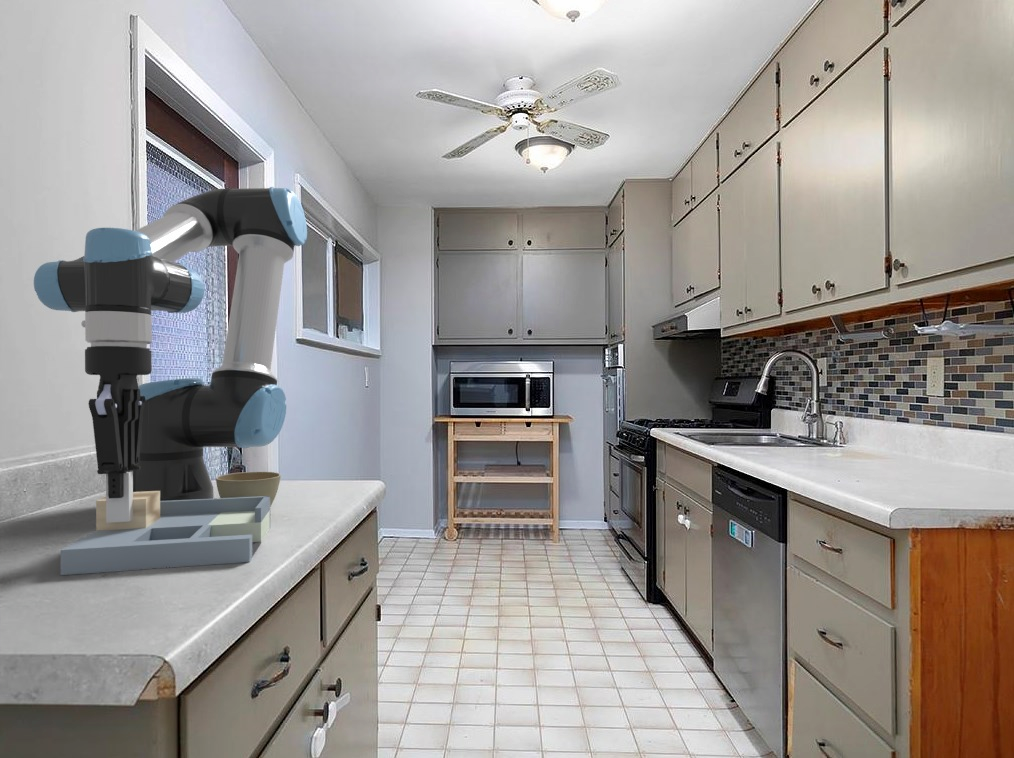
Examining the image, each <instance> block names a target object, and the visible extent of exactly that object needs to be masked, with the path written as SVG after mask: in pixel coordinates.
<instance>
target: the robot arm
mask: <svg viewBox="0 0 1014 758" xmlns="http://www.w3.org/2000/svg"><path fill="white" fill-rule="evenodd" d="M307 225H308V224H307V219H306V216H305V211H304V209H303V206H302V204H301V201H300V199H299V197H298V196H297V194H296V193H295V192H294V191H293V190H291V189H289V188H286V187H274V186H270V187H266V188H265V187H264V188H258V187H257V188H256V187H254V188H217V189H216V188H215V189H212V190H208V191H205V192H202V193H199V194H196V195H193V196H191V197H188V198H185V199H184V200H182V201H179V202H177V203H175V204H174V205H173V204H172V205H171V206H169V207H168V208H167V209H166V211H165V212H164V215H163V216H162V217H160V218H158V219H156V220H154V221H152V222H150V223H148V224H146V225H144V226H142V227H139V228H138V229H136V230H133V229H128V228H127V229H126V228H119V227H96V228H92V229H90V230H89V231H88V232H87V233H86V235H85V242H84V254H83V256H81V257H79V258H76V259H74V260H67V261H66V260H64V259H62V260H60V259H59V260H58V261H48V262H45V263H43V264H41V265H40V266H39V267H38V268H37V270H36V271H35V273H34V277H33V288H34V289H33V290H34V291H35V293H36V296H37V298H38V300H39V301H40V302H41V303H42V304H43V305H44V306H45V307H47V308H48V309H50V310H53V311H65V312H66V311H67V312H72V313H76V312H77V313H78V312H85V313H84V316H85V317H84V319H85V320H82V321H81V327H82V328H85V329H84V330H85V331H84V335H85V342H87V343H89V344H90V346H87V347H86V349H84V371H85V372H84V373H85V374H87V375H89V376H99V382H98V386H97V387H98V388H97V390H96V398H90V399H89V400H88V408H89V411H90V415H91V418H92V419H91V420H92V427H93V436H94V444H95V446H94V447H95V453H96V454H95V455H96V463H97V470H96V471H97V472H96V473H97V474H98V475H105V497H106V523H110V522H128V521H131V520H132V519H133V492H144V491H160V501H171V500H192V499H214V485H213V482H212V480H211V477H210V474H209V472H208V469H207V466H206V464H205V461H204V448H241V449H248V448H253V447H254V448H259V447H260V448H261V447H266V446H268V445H270V444H271V443H273V442H274V441H275V439H276V438H277V437H278V436H279V434H280V433H281V430H282V428H283V426H284V422H285V418H286V414H287V403H286V399H287V397H286V394H285V392H284V390H283V389H282V387H280V386H278V378H276V376H275V375H274V374H273V373H272V372H271V369H272V360H273V353H274V346H275V338H276V329H277V322H278V314H279V307H280V299H281V290H282V283H283V275H284V269H285V263H288V262H289V261H290V260H292V259H293V257H294V251H295V247H300V246H303V245H304V244H305V243H306V241H307V237H308V227H307ZM211 247H232V248H233V249H234V250H235V252H236V253H237V254H238V259H237V267H236V273H235V274H236V275H235V278H234V279H235V280H234V287H233V292H232V299H231V307H230V313H229V318H228V319H229V320H228V325H227V326H228V327H227V331H226V337H225V339H226V340H225V345H224V350H223V351H224V352H223V357H222V358H223V359H222V364H221V366H219V367H218V368H216V369H215V370H214V371H212V373H211V378H210V384H209V385H205V383H204V380H203V379H202V378H199V377H192V378H191V377H189V378H188V377H187V378H178V379H168V380H167V379H166V380H157V381H151V382H146V383H141V384H138V376H148V375H150V374H151V373H152V368H153V367H152V350H151V349H150V348H149V347H148V345H150V344H152V342H153V339H152V338H153V335H152V334H153V333H152V330H153V329H152V328H153V327H152V326H153V325H152V312H153V311H158V312H159V311H160V312H162V311H163V312H167V313H170V314H171V313H172V314H179V313H180V314H185V313H189V312H192V311H194V310H196V309H197V308H198V307H199V306H200V304H201V303H202V301H203V299H204V296H205V284H204V281H203V279H202V277H201V276H200V275H199V274H198V272H196V271H195V269H194V270H193V269H192V268H189V267H187V266H185V265H184V264H181V262H176V261H177V260H179V259H181V258H183V257H184V256H185V255H187V254H189V253H199V252H201V251H205V250H206V249H207V248H211Z"/></svg>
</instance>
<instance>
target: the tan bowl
mask: <svg viewBox="0 0 1014 758" xmlns="http://www.w3.org/2000/svg"><path fill="white" fill-rule="evenodd" d="M281 476H282V474H281V473H279V472H275V471H246V472H245V471H243V472H233V473H226V474H220V475H219V476H218V475H217V476H216V477H215V482H216V488H217V492H218V495H219V498H236V497H257V496H270V508H271V507H272V505H273V503H274V501H275V499H276V496H277V493H278V491H279V486H280V483H281V482H280V481H281Z"/></svg>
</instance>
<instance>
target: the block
mask: <svg viewBox="0 0 1014 758" xmlns="http://www.w3.org/2000/svg"><path fill="white" fill-rule="evenodd" d="M95 505H96V506H95V511H96V513H95V514H96V515H95V516H96V517H95V530H96V531H100V530H118V529H136V528H147V527H148V526H149V525H151V524H152V523H154V522H155V521H157V520H158V519H160V491H144V492H133V519H132V520H131V521H128V522H110V523H106V496H104V497H102V498H99V499H98V500H96V501H95Z"/></svg>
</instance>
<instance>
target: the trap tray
mask: <svg viewBox="0 0 1014 758" xmlns="http://www.w3.org/2000/svg"><path fill="white" fill-rule="evenodd" d="M270 529H271V507H270V496H257V497H236V498H220V497H218V498H217V497H216V498H215V497H213V499H192V500H171V501H160V519H158V520H157V521H155V522H154V523H152V524H151V525H149V526H148V527H147V528H136V529H118V530H100V531H96V529H95V530H94V531H92V532H90V533H88V534H86V535H84V536H83V537H81V538H79V539H78V540H76V541H74V542H73V543H70V544H69V545H66V547H64V548H61V549H60V576H68V575H80V574H84V575H85V574H95V573H96V574H97V573H98V574H99V573H110V572H111V573H112V572H125V571H127V572H128V571H137V570H139V571H140V569H142V570H150V569H151V570H153V569H152V568H156V569H167V568H169V567H170V568H181V567H183V568H184V567H195V566H198V567H199V566H208V565H209V566H211V565H224V564H226V565H227V564H238V563H250V562H251V561H252V558H253V557H254V555H255V554H256V552H257V550H258V549H259V548H260V545H261V544H262V542H263V541H264V539H265V537H266V536H267V534H268V532H269V531H270ZM166 567H167V568H166Z"/></svg>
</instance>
